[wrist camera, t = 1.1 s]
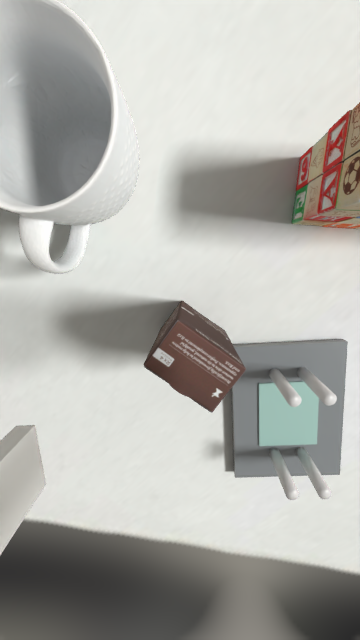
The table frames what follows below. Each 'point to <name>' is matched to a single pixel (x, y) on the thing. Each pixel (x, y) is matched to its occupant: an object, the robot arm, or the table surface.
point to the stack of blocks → (331, 177)
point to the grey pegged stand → (290, 411)
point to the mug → (60, 129)
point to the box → (195, 357)
